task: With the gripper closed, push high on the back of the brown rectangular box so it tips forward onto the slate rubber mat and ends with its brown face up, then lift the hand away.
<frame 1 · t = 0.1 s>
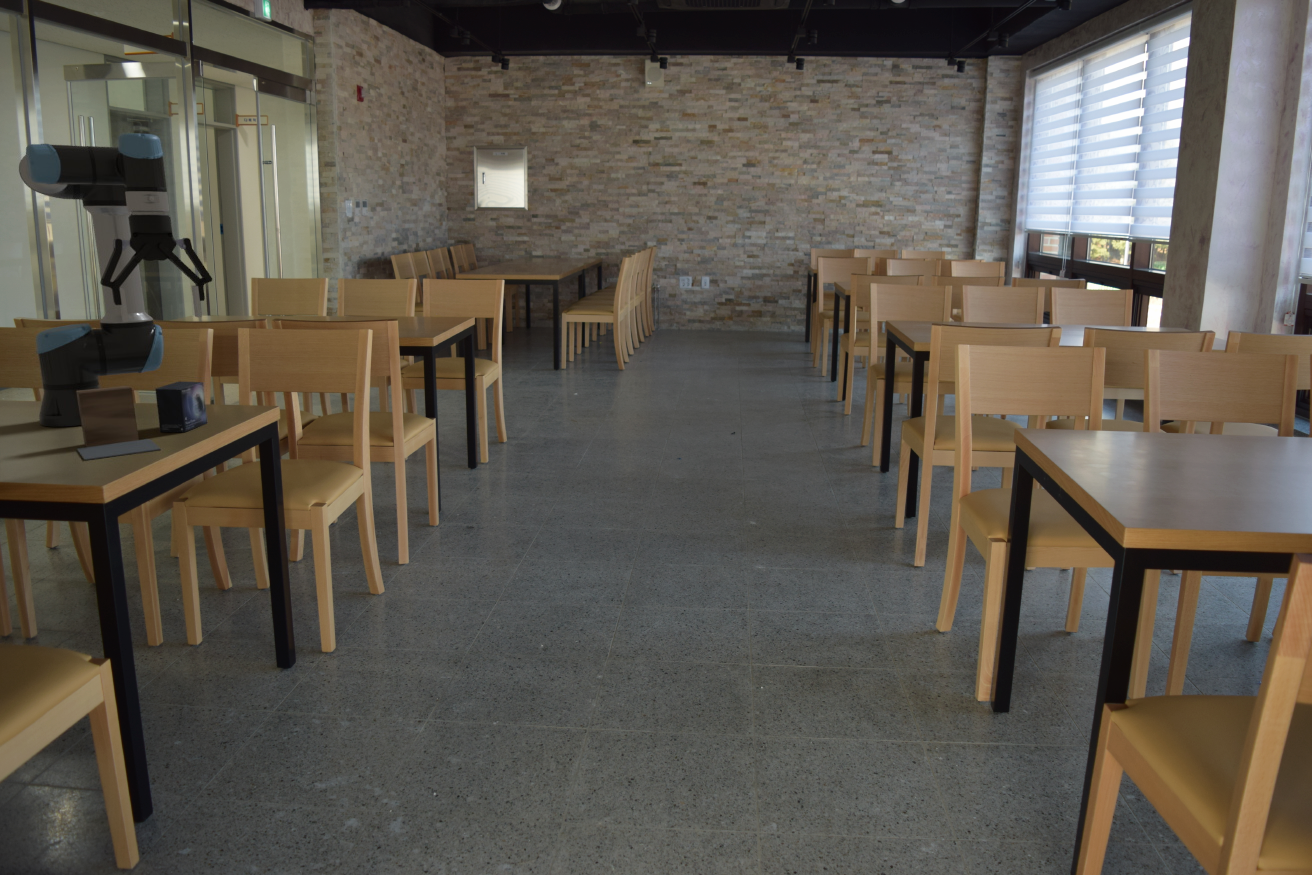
hand: (162, 319, 188), 28 cm above the table, tool pointing down, fingers open, 13 cm apart
brown rectangular box: (111, 442, 202), on the table
small box: (184, 428, 216), on the table
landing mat: (118, 449, 195), on the table
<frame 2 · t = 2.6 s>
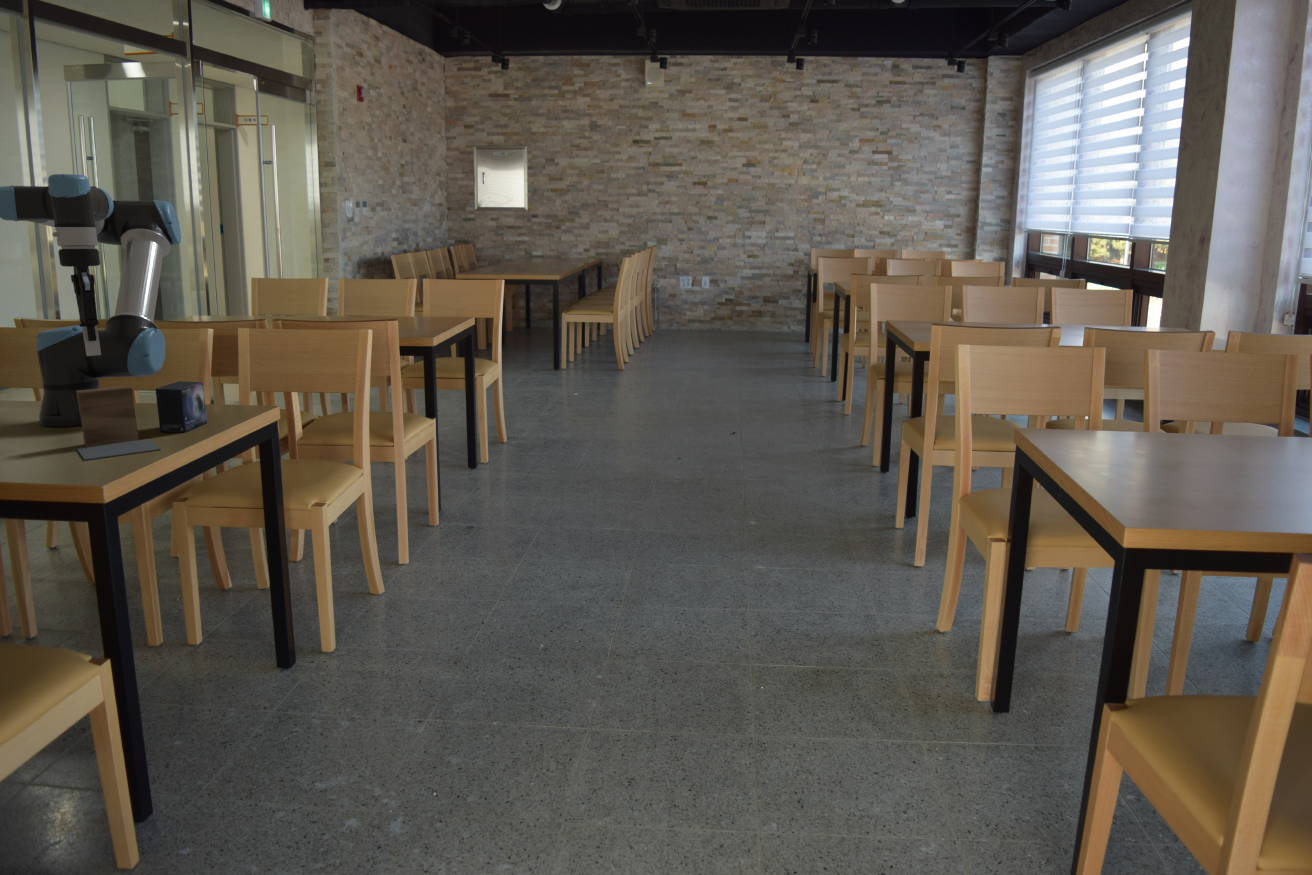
hand: (93, 355, 203), 19 cm above the table, tool pointing down, fingers closed
nothing on the table moved.
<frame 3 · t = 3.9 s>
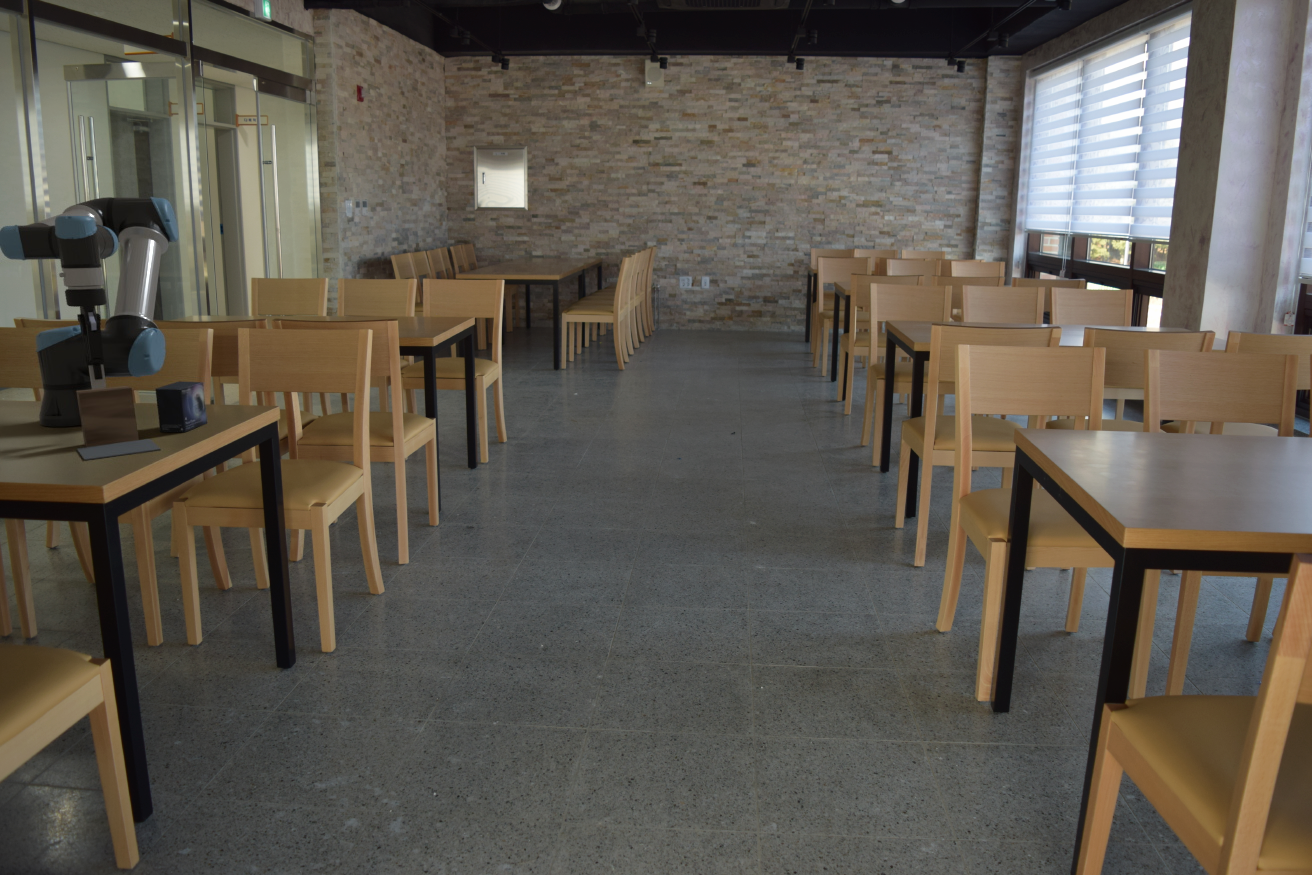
hand: (99, 393, 205), 10 cm above the table, tool pointing down, fingers closed
nothing on the table moved.
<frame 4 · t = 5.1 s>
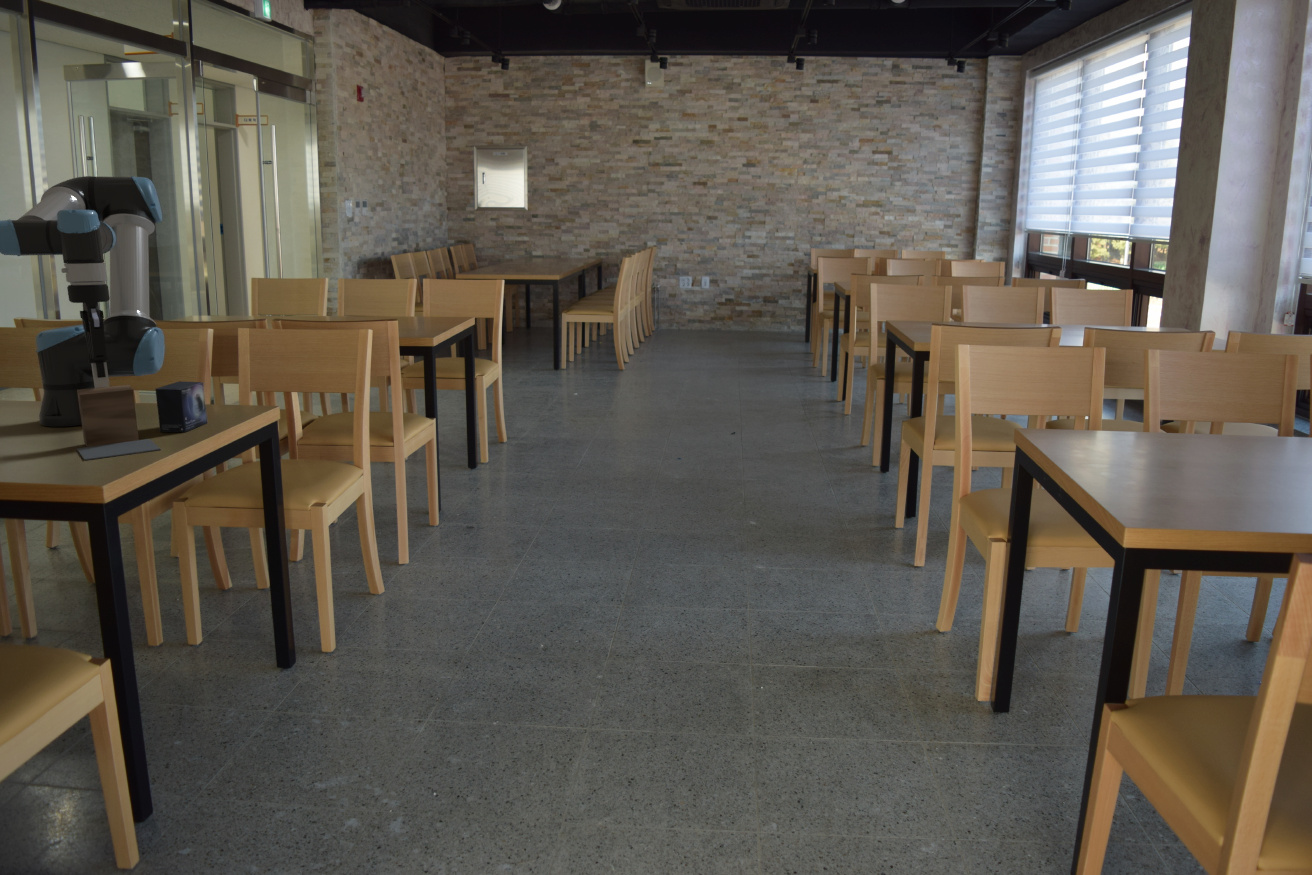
hand: (102, 391, 200), 11 cm above the table, tool pointing down, fingers closed
brown rectangular box: (111, 441, 202), on the table, tilted 7°, touching gripper
everything else where it was.
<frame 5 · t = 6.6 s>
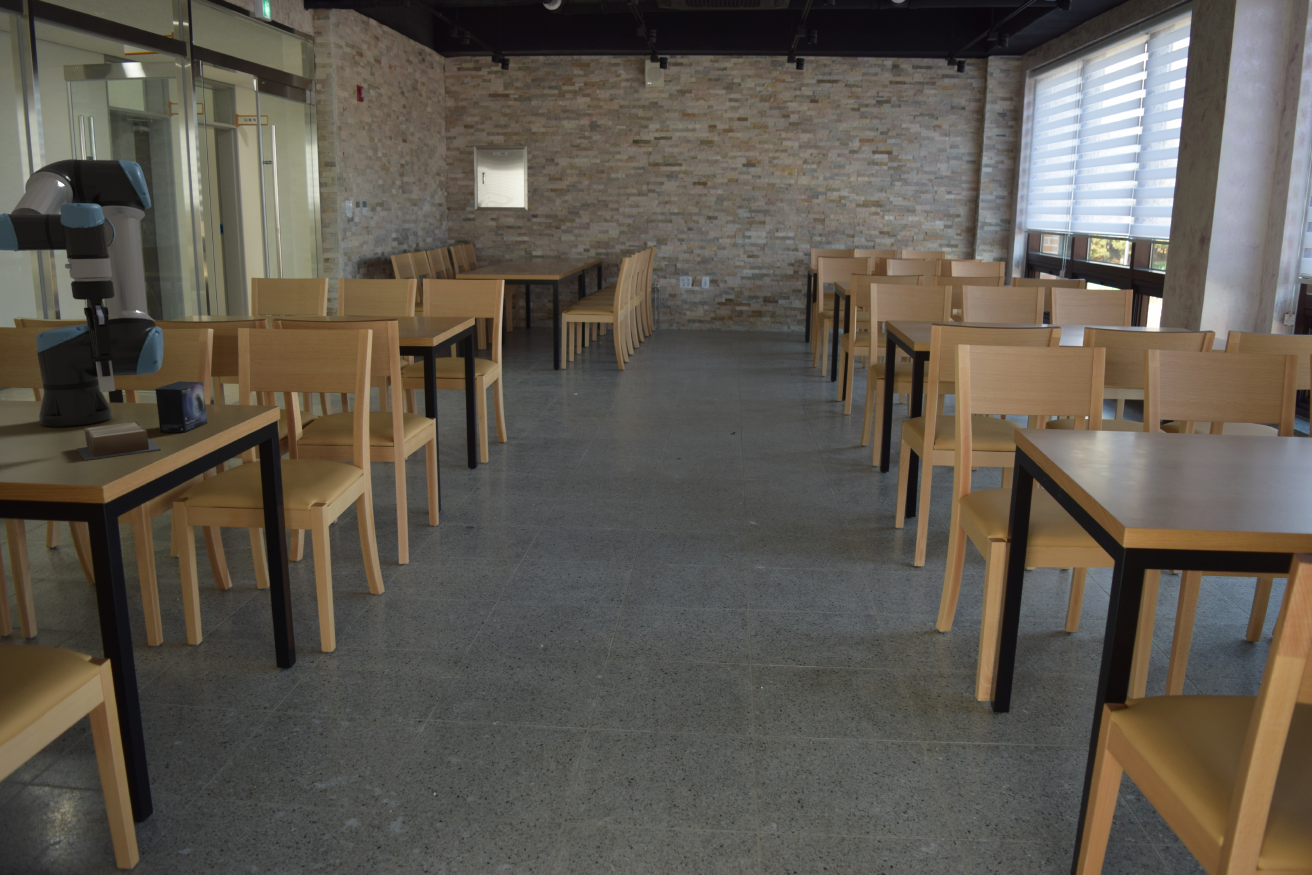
hand: (107, 390, 194), 12 cm above the table, tool pointing down, fingers closed
brown rectangular box: (111, 433, 200), point 2 cm above the table, tilted 90°, touching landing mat
everything else where it was.
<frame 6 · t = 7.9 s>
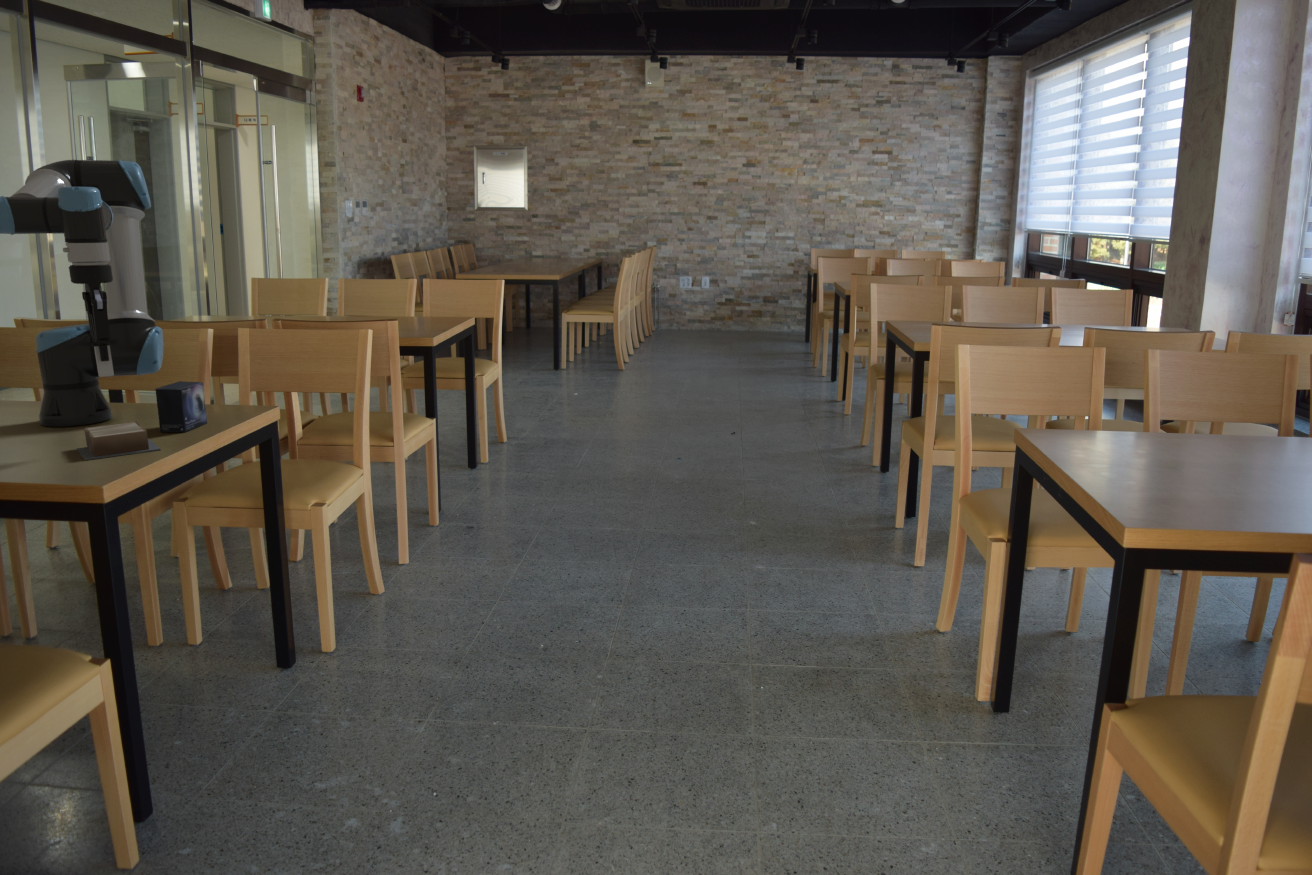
hand: (106, 375, 194), 16 cm above the table, tool pointing down, fingers closed
nothing on the table moved.
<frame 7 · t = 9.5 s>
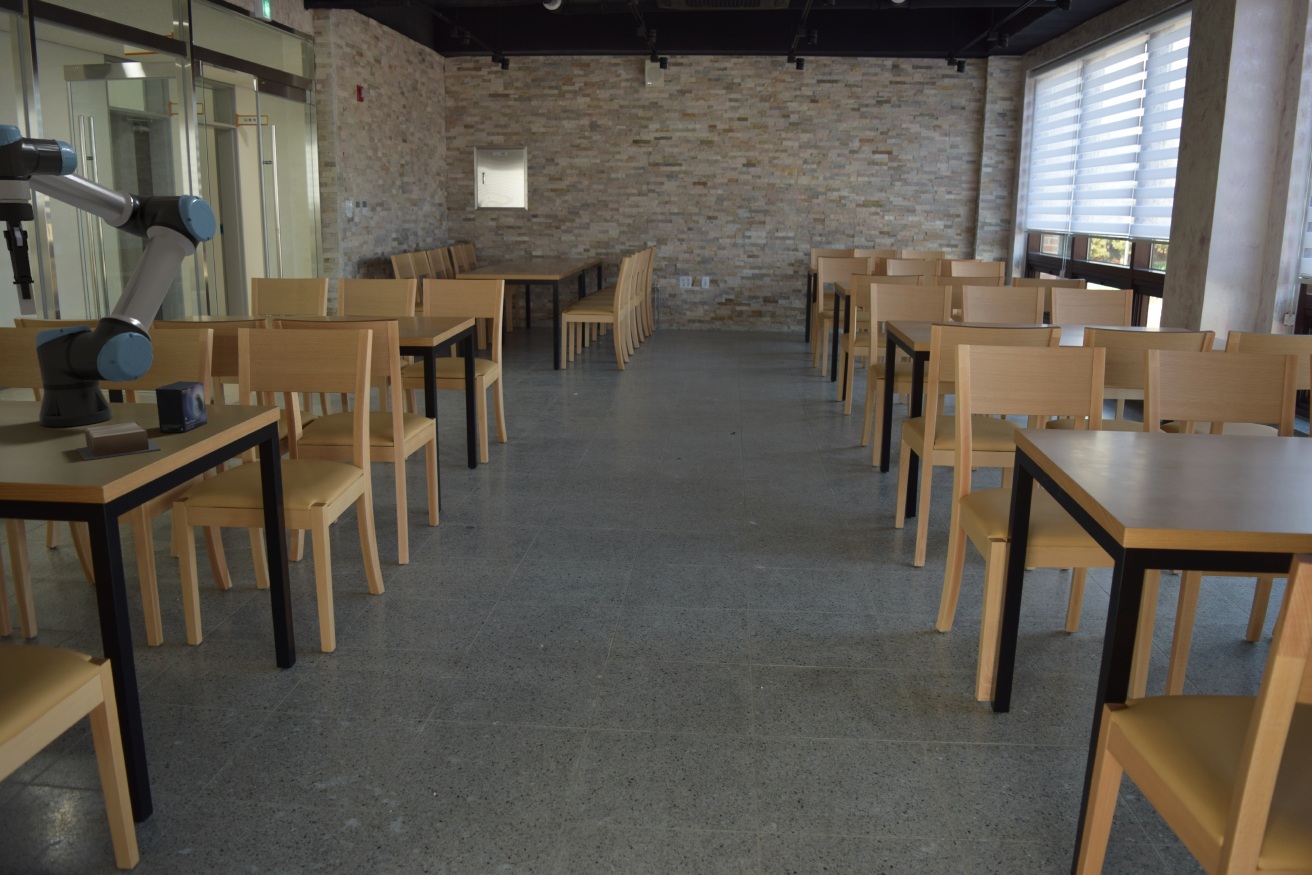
hand: (28, 314, 196), 28 cm above the table, tool pointing down, fingers closed
nothing on the table moved.
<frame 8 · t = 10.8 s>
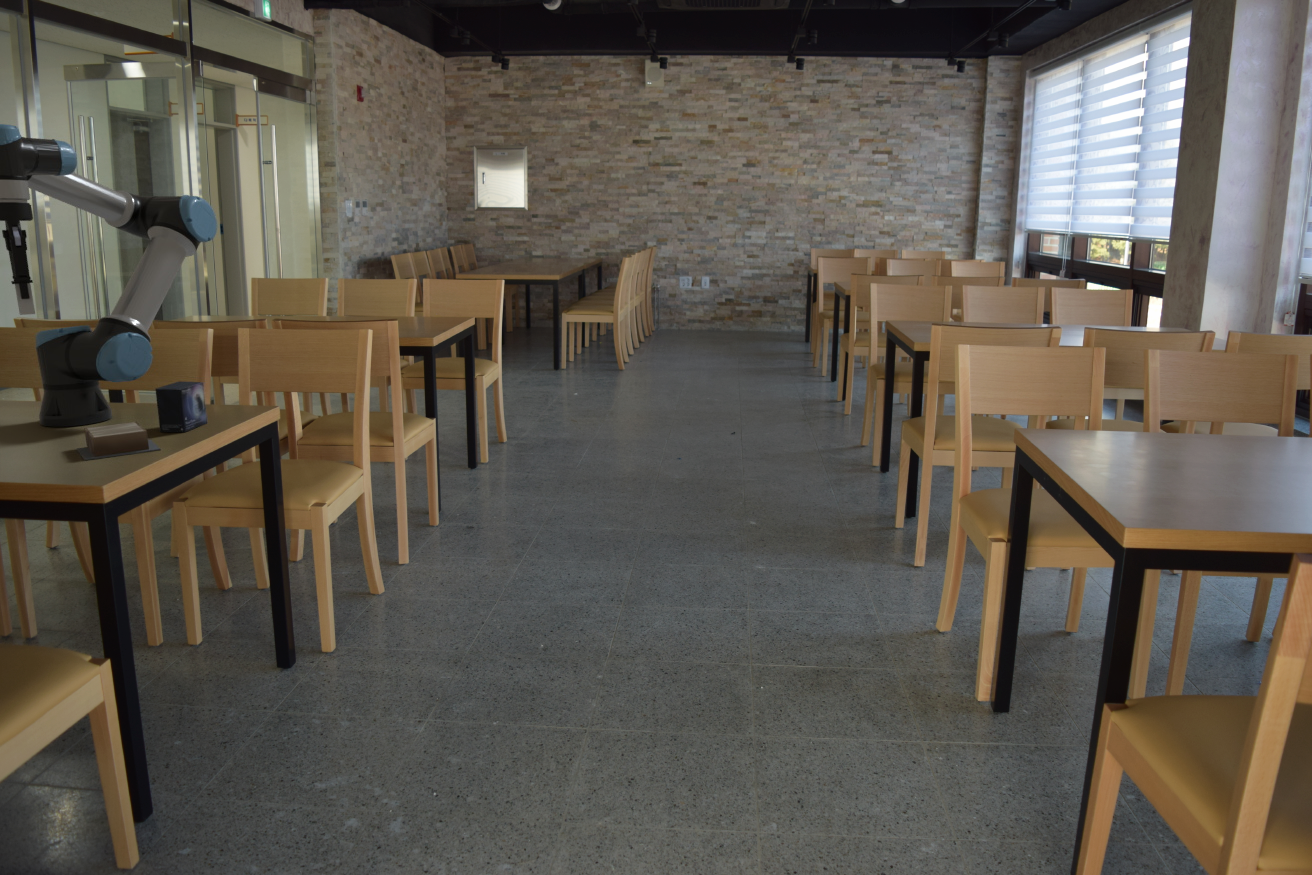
hand: (27, 314, 196), 28 cm above the table, tool pointing down, fingers closed
nothing on the table moved.
at the end: brown rectangular box tilted 90°; brown rectangular box inside the target area (2.5 cm from its centre), point 2.3 cm above the table; brown rectangular box touching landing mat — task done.
